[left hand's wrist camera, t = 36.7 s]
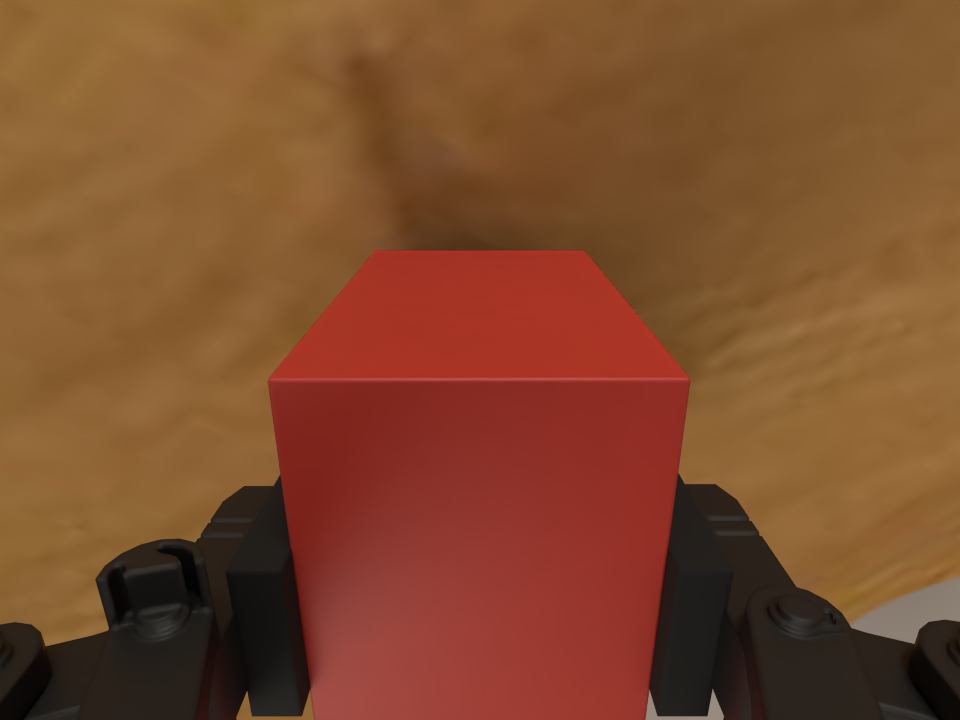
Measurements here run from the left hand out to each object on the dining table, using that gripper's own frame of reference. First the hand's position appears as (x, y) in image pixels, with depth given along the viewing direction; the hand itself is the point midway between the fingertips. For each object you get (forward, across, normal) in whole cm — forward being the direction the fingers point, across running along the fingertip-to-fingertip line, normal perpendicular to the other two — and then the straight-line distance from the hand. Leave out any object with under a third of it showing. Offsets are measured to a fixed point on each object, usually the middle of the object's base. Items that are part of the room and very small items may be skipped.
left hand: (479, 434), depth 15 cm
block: (+3, 0, 0) cm, 3 cm away
